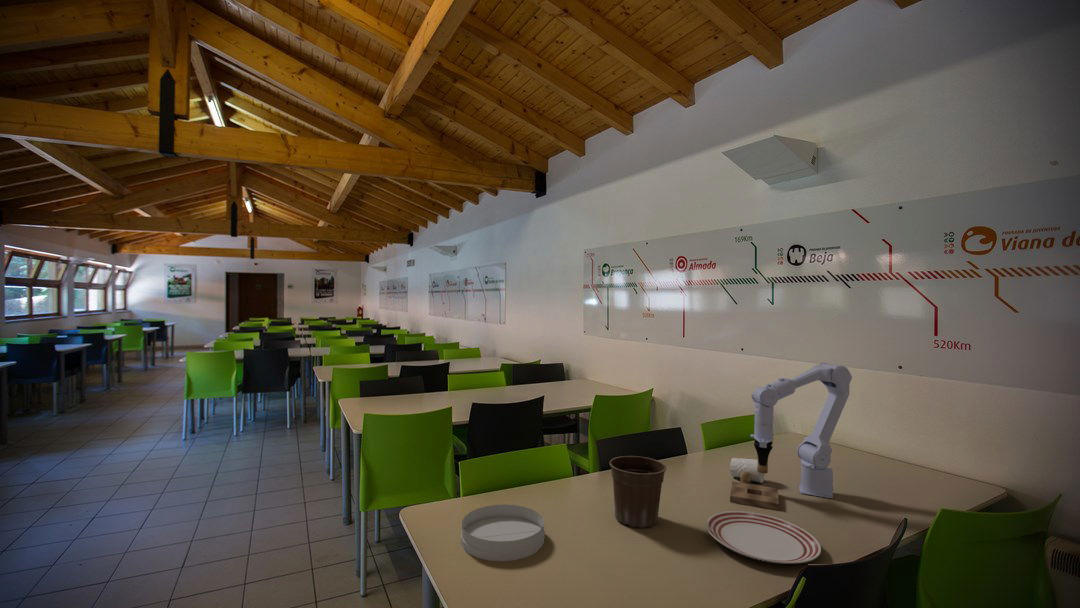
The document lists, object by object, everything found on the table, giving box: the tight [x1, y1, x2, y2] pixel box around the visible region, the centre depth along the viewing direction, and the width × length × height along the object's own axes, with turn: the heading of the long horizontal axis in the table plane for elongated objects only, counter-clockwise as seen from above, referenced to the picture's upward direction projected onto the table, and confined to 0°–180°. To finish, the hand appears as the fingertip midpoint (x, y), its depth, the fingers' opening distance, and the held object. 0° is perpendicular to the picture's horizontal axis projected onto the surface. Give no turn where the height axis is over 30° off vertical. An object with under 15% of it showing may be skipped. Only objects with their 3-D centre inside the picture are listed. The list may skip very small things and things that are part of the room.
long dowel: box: [757, 460, 769, 474], centre depth 164 cm, size 3×3×7 cm
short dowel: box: [740, 472, 751, 484], centre depth 171 cm, size 3×3×4 cm
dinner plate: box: [705, 510, 822, 565], centre depth 128 cm, size 27×27×3 cm
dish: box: [460, 503, 546, 562], centre depth 128 cm, size 22×22×5 cm
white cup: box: [729, 457, 765, 484], centre depth 176 cm, size 8×8×10 cm
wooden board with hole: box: [729, 481, 780, 511], centre depth 159 cm, size 14×14×2 cm
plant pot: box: [609, 455, 667, 529], centre depth 142 cm, size 16×16×16 cm
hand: (762, 463), depth 163 cm, fingers closed on long dowel, 3 cm apart
